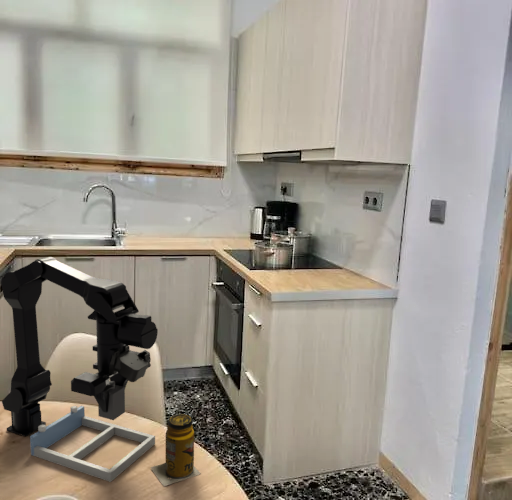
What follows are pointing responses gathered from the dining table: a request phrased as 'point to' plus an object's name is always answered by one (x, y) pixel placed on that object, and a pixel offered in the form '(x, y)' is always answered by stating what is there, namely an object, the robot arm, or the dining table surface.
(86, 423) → the organiser
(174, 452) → the condiment
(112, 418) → the grey cube with knob
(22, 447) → the dining table surface
